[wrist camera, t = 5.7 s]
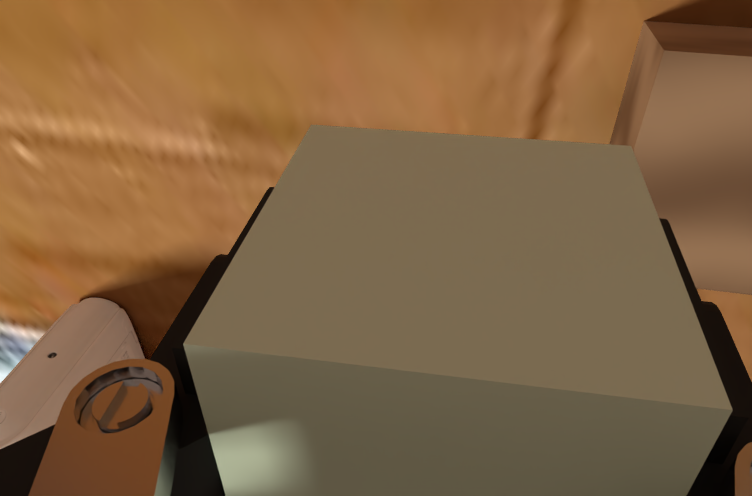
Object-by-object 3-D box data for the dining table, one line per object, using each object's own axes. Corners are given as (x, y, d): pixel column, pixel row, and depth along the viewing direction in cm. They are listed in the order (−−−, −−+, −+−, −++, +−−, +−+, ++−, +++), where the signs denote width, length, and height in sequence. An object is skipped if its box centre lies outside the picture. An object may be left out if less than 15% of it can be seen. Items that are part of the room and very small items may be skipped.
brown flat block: (642, 18, 24) (664, 50, 21) (918, 36, 23) (987, 73, 19) (584, 226, 30) (594, 276, 26) (800, 249, 28) (838, 305, 25)
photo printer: (66, 291, 38) (-85, 458, 28) (127, 296, 38) (-5, 469, 28) (114, 398, 44) (4, 567, 34) (168, 404, 44) (71, 578, 34)
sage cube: (311, 124, 10) (183, 343, 6) (631, 145, 9) (732, 410, 5) (328, 342, 13) (250, 584, 9) (569, 370, 12) (604, 647, 8)
